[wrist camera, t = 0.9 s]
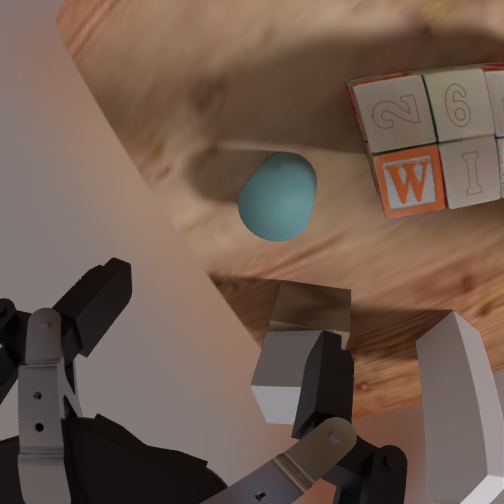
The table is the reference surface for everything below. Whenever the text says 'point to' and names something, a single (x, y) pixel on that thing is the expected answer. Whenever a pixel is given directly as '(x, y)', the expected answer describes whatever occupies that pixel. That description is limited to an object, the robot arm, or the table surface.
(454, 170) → the stack of blocks
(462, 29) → the table surface
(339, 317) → the walnut block
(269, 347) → the grey block
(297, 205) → the teal cylinder
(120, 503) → the robot arm
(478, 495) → the milk
